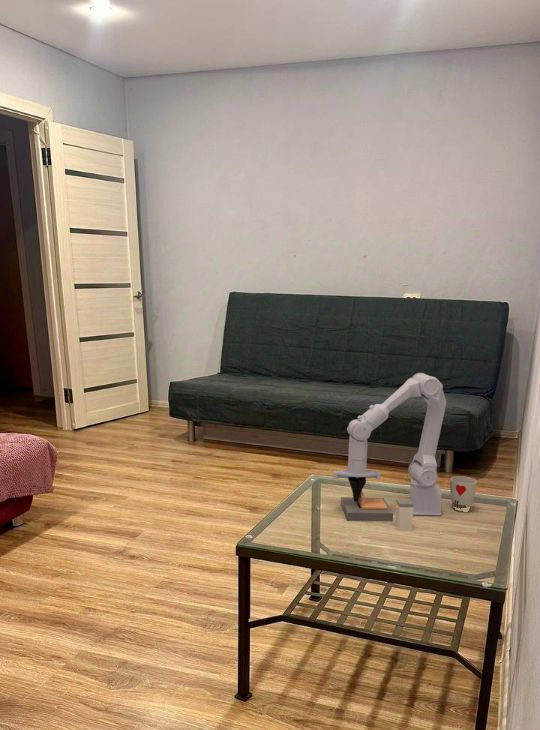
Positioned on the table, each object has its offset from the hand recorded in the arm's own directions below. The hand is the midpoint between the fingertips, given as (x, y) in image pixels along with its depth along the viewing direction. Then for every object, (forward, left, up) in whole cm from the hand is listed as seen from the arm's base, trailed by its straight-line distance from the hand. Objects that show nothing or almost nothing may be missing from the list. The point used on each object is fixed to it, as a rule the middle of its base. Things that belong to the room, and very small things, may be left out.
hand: (355, 500), depth 187 cm
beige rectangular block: (-12, +12, -4) cm, 18 cm away
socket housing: (-3, 0, -4) cm, 5 cm away
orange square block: (-5, 0, -1) cm, 5 cm away
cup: (-35, -4, -4) cm, 36 cm away
